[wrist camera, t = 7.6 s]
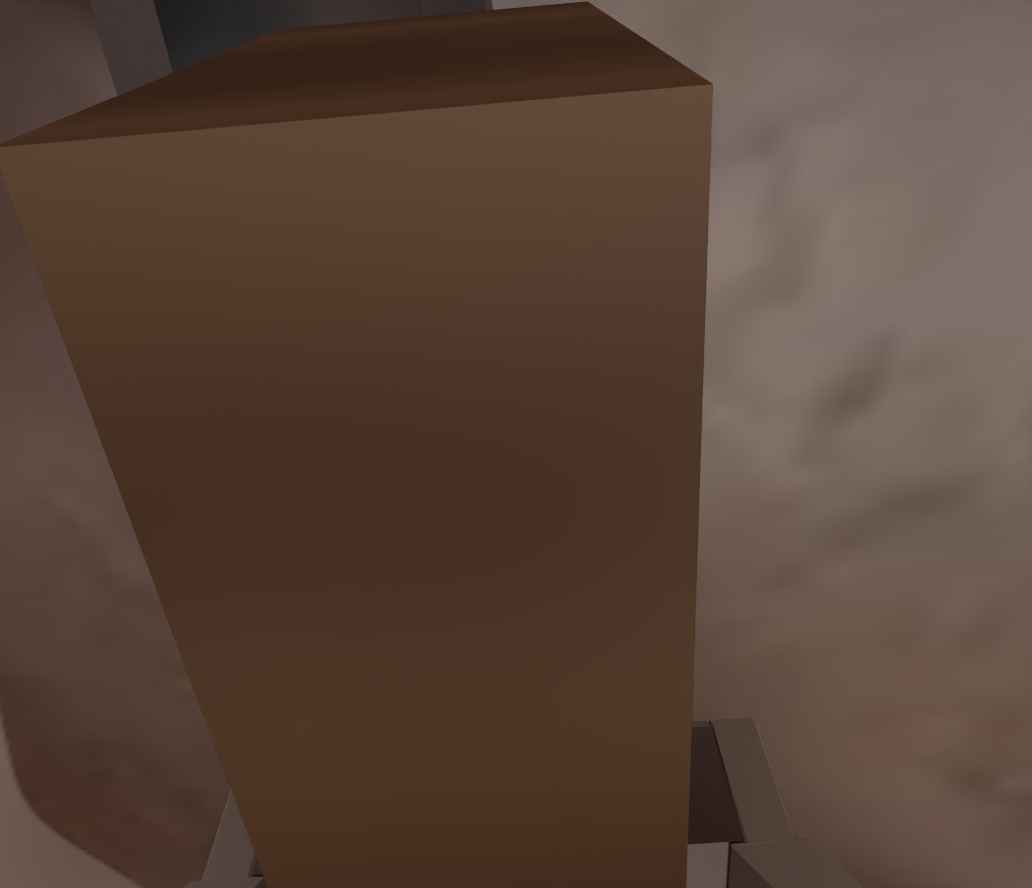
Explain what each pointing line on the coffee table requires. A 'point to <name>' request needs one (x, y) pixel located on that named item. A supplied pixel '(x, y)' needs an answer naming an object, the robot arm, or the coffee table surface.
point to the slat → (409, 428)
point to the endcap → (226, 27)
